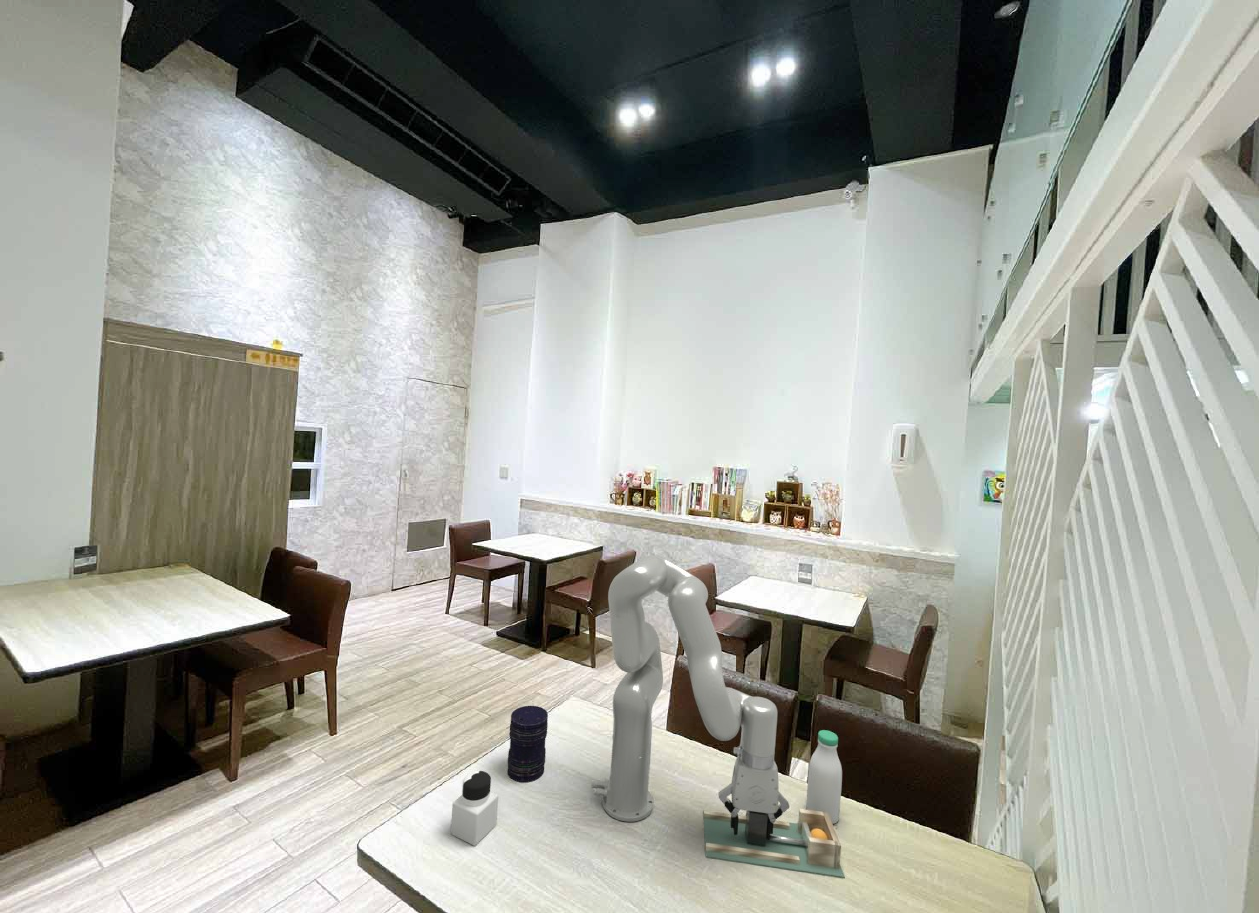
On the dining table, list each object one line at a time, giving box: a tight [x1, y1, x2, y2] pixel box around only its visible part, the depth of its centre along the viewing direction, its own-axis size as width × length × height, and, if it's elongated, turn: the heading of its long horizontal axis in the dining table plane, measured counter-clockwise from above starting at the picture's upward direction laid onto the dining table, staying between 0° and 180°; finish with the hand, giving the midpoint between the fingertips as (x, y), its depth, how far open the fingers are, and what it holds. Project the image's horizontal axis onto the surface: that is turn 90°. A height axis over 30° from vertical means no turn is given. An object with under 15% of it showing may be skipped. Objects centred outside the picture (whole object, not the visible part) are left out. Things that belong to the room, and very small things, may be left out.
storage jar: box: [507, 705, 549, 784], centre depth 134 cm, size 10×10×15 cm
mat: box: [702, 810, 846, 879], centre depth 115 cm, size 29×14×1 cm, turn 84°
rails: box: [703, 810, 800, 864], centre depth 115 cm, size 20×11×1 cm, turn 84°
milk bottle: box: [805, 729, 843, 825], centre depth 125 cm, size 8×8×20 cm
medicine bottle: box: [450, 770, 499, 847], centre depth 112 cm, size 7×7×12 cm
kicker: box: [745, 810, 812, 852], centre depth 114 cm, size 14×6×7 cm, turn 84°
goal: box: [797, 808, 842, 869], centre depth 113 cm, size 6×10×5 cm, turn 174°
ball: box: [810, 829, 828, 840], centre depth 113 cm, size 4×4×4 cm
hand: (751, 832), depth 115 cm, fingers open, 6 cm apart
